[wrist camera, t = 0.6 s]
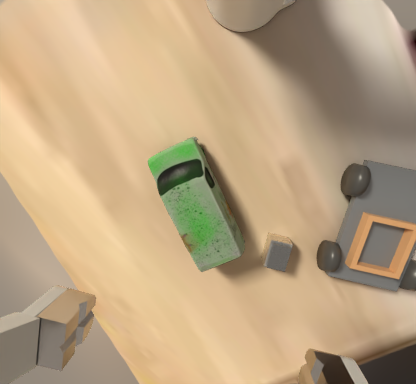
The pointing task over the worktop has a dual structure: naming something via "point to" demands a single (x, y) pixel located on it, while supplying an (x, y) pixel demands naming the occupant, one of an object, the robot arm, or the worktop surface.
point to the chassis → (375, 228)
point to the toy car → (197, 204)
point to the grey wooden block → (276, 252)
